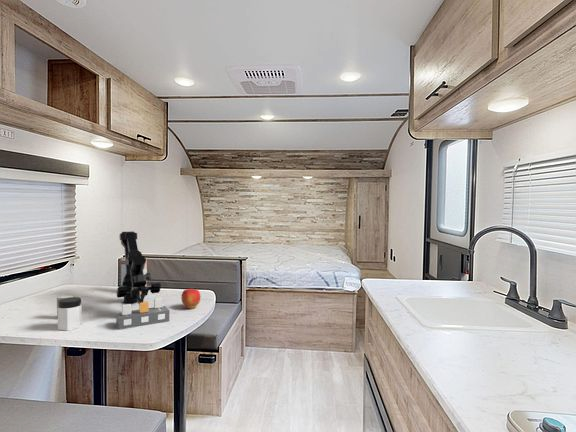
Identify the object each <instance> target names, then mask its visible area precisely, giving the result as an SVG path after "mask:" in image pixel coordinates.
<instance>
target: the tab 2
mask: <svg viewBox="0 0 576 432" xmlns="http://www.w3.org/2000/svg"><path fill="white" fill-rule="evenodd" d="M138 306H139V308H138V310H139V312H140V313H143V312H149V308H150V306H149V301H143V302H142V303H139V304H138Z"/></svg>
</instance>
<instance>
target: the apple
mask: <svg viewBox="0 0 576 432" xmlns="http://www.w3.org/2000/svg"><path fill="white" fill-rule="evenodd" d="M180 298H181V302H182V304H183V306H184V307H186V308H187V309H189V310H190V309H191V310H192V309H194V308H196V307H197V306H199V304H200V302H201V292H200V291H199V289H196V288H188V289H187V288H186V289H184V290H183V291H182V293H181V297H180Z"/></svg>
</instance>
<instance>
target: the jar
mask: <svg viewBox="0 0 576 432" xmlns="http://www.w3.org/2000/svg"><path fill="white" fill-rule="evenodd" d="M82 306H83V305H82V298H81V297H78V296H77V297H76V296H75V297H74V296H73V297H70V298H64V299H61V300H59V308H58V319H57V330H58V331H66V332H68V331H71V330H76V329H79V328H81V326H82V324H83V322H82V321H83V320H82V319H83V318H82V317H83V316H82V314H83V313H82V311H83V309H82Z"/></svg>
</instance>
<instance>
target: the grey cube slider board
mask: <svg viewBox="0 0 576 432" xmlns="http://www.w3.org/2000/svg"><path fill="white" fill-rule="evenodd" d="M115 319H116V320H115V324H116V327H117V330H124V329H131V328H136V327H143V326H149V325H154V324H159V323H160V324H161V323H167V322H170V309H169V308H168V307H167V306H166V305H163V307H160V308H154V306H153V307H149V312H143V313H140V312H139V309H131V314H128V315H122V311H119V312H116V313H115Z"/></svg>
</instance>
